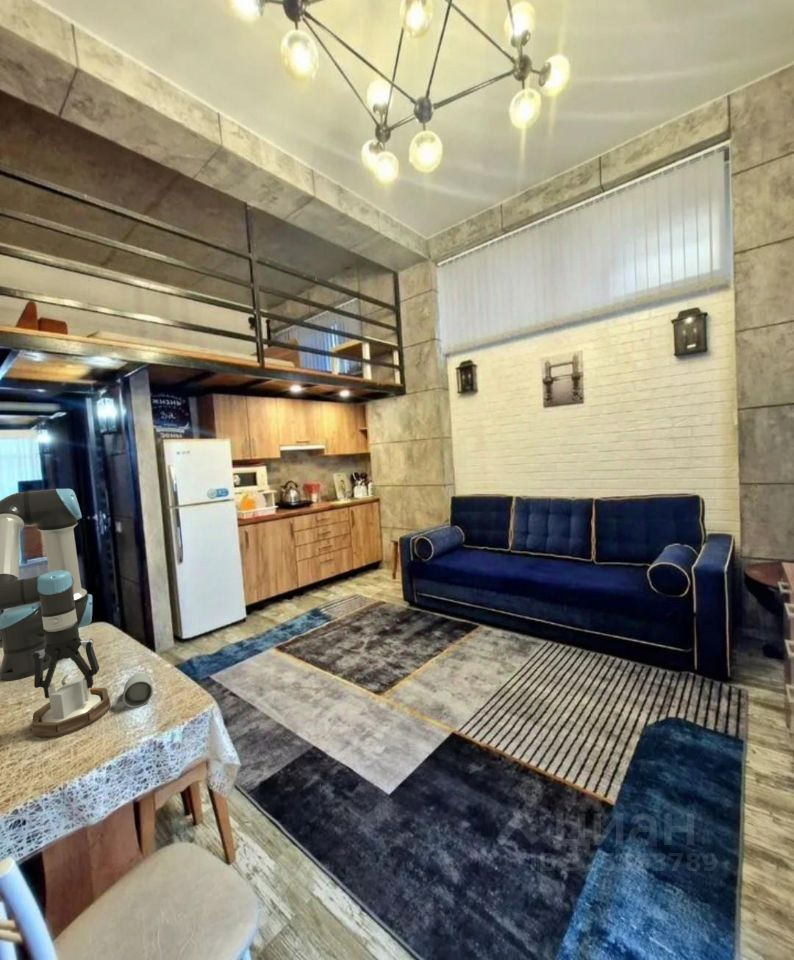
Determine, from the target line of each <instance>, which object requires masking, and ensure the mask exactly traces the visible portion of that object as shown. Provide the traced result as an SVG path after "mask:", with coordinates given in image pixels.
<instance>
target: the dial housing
mask: <svg viewBox="0 0 794 960" xmlns="http://www.w3.org/2000/svg"><path fill="white" fill-rule="evenodd" d="M90 693H91V694H92V695H98V696H99V697H100V698H101V701H100V702H98V703H97V704H96V705H94V706H93V707H92V708H91V709H90V710H89V711H87V712H86V713H83V714H80V715H77V716H75V717H72V718H69V719H66V720H63V721H61V722H42V717H43V715H44V714H45V713H46V712H47V711H48V710H49V709H51V707H50V701H49V702H47V703H46V704H45V705H43V706H42V707H40V708H39V709H37V710H35V711H34V712H33V714H32V721H31V730H32V734H33V736H34V737H35V738H39V739H55V738H59V737H65V736H67V735H70V734H74V733H77V732H78V731H80V730H82V729H85V728H87V727H89V726H90V725H92V724H95V722H97V721H99V720H100V719H102V718H103V717H104V716H105V715H106V714H107V713H108V712H109V711H110V709H111V707H112V704H111V698H110V697H109V694H108V690H107V688H106V687H92V688H90Z"/></svg>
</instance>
